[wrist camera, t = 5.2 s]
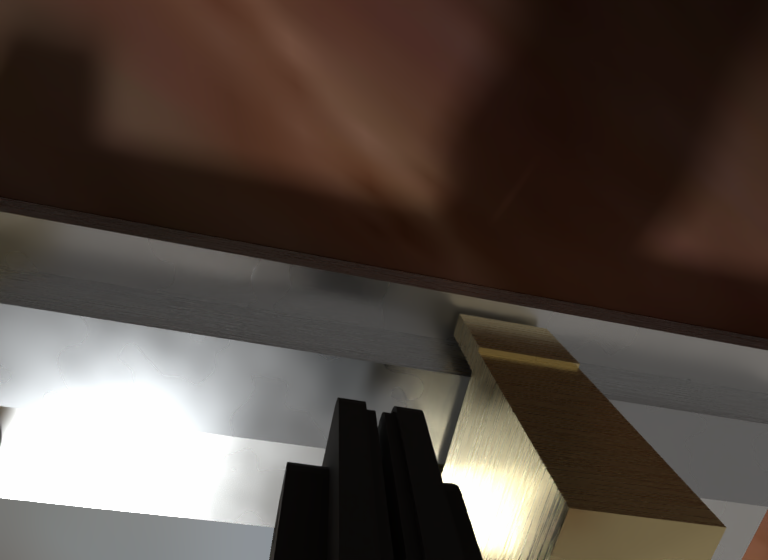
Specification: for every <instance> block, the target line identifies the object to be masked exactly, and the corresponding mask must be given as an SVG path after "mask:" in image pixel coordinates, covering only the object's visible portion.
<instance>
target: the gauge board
mask: <svg viewBox="0 0 768 560" xmlns="http://www.w3.org/2000/svg"><path fill="white" fill-rule="evenodd" d="M459 313H460V314H465V315H471V316H477V317H483V318H488V319H494V320H500V321H505V322H511V323H517V324H522V325H528V326H534V327H539V328H545V329H547V330H548V331H549V332H550V333H551V334H552V335H553V336H554V337H555V338H556V339H557V340H558V341H559V342H560V343H561V344H562V346H563V347H564V348H565V349H566V350H567V351H568V352H569V353H570V354H571V355H572V356H573V357H574V358H575V359H576V360H577V361H578V362H579V363H580V365H579V369H580V370H581V371H582V372H583V373H584V374H585V375H586V376H587V377H588V379H589V380H590V381H591V382H592V383H593V384H594V385H595V386H596V387H597V388H598V389H599V390H600V391H601V393H602V394H603V395H604V396H605V397H606V398H607V399H608V400H609V401H610V402H611V403H612V404H613V406H614V407H615V408H616V409H617V410H618V411H619V412H620V413H621V414H622V415H623V416H624V417H625V418H626V420H627V421H628V422H629V423H630V424H631V425H632V426H633V427H634V428H635V429H636V430H637V431H638V432H639V434H640V435H641V436H642V437H643V438H644V439H645V440H646V441H647V442H648V443H649V444H650V445H651V446H652V448H653V449H654V450H655V451H656V452H657V453H658V454H659V455H660V456H661V457H662V458H663V459H664V460H665V462H666V463H667V464H668V465H669V466H670V467H671V468H672V469H673V470H674V471H675V472H676V473H677V474H678V476H679V477H680V478H681V479H682V480H683V481H684V482H685V483H686V484H687V485H688V486H689V487H690V488H691V490H692V491H693V492H694V493H695V494H696V495H697V496H698V497H699V498H700V499H701V500H702V501H703V502H704V504H705V505H706V506H707V507H708V508H709V509H710V510H711V511H712V512H713V513H714V514H715V515H716V516H717V518H718V519H719V520H720V521H721V522H722V523H723V524H724V525H725V526H726V527H727V528H726V530H725V532H724V534H723V536H722V538H721V540H720V542H719V544H718V546H717V548H716V550H715V552H714V554H713V556H712V558H711V560H741V559H742V557H743V555H744V553H745V552H746V550H747V548H748V546H749V544H750V542H751V540H752V538H753V536H754V534H755V532H756V530H757V528H758V527H759V525H760V523H761V521H762V519H763V517H764V515H765V513H766V511H767V509H768V339H765V338H760V337H754V336H749V335H743V334H738V333H733V332H727V331H722V330H716V329H711V328H706V327H700V326H695V325H689V324H684V323H678V322H673V321H668V320H662V319H657V318H651V317H646V316H641V315H635V314H630V313H624V312H619V311H613V310H608V309H603V308H597V307H592V306H586V305H581V304H576V303H570V302H565V301H559V300H554V299H548V298H543V297H538V296H532V295H527V294H521V293H516V292H511V291H505V290H500V289H494V288H489V287H484V286H478V285H473V284H467V283H462V282H456V281H451V280H446V279H440V278H435V277H429V276H424V275H419V274H413V273H408V272H402V271H397V270H391V269H386V268H381V267H375V266H370V265H364V264H359V263H354V262H348V261H343V260H337V259H332V258H326V257H321V256H316V255H310V254H305V253H299V252H294V251H289V250H283V249H278V248H272V247H267V246H262V245H256V244H251V243H245V242H240V241H234V240H229V239H224V238H218V237H213V236H207V235H202V234H197V233H191V232H186V231H180V230H175V229H169V228H164V227H159V226H153V225H148V224H142V223H137V222H132V221H126V220H121V219H115V218H110V217H104V216H99V215H94V214H88V213H83V212H77V211H72V210H67V209H61V208H56V207H50V206H45V205H40V204H34V203H29V202H23V201H18V200H12V199H7V198H2V197H0V498H7V499H16V500H26V501H35V502H44V503H53V504H62V505H72V506H81V507H90V508H100V509H109V510H118V511H127V512H136V513H147V514H155V515H164V516H173V517H183V518H193V519H201V520H211V521H220V522H229V523H238V524H247V525H257V526H266V527H275V522H276V516H277V510H278V505H279V500H280V494H281V489H282V484H283V479H284V474H285V469H286V464H287V462H293V463H301V464H308V465H316V466H322V463H323V459H324V454H325V449H326V445H327V440H328V436H329V431H330V427H331V422H332V417H333V413H334V408H335V404H336V401H337V398H338V397H339V398H346V399H352V400H359V401H365V402H366V406H367V409H368V410H375V411H376V418H377V426H378V425H379V421H380V417H381V414H382V413H383V412H388V413H391V411H392V409H393V407H394V406H399V407H405V408H412V409H418V410H422V411H423V413H424V416H425V420H426V423H427V427H428V430H429V434H430V438H431V441H432V445H433V448H434V452H435V455H436V459H437V463H438V464H445V462H446V459H447V456H448V452H449V449H450V445H451V442H452V439H453V435H454V432H455V428H456V425H457V422H458V418H459V415H460V411H461V408H462V405H463V401H464V398H465V394H466V391H467V388H468V384H469V381H470V377H471V374H472V370H471V368H470V366H469V364H468V362H467V360H466V358H465V356H464V354H463V352H462V350H461V348H460V346H459V345H458V343H457V341H456V339H455V337H454V331H455V327H456V324H457V320H458V316H459Z"/></svg>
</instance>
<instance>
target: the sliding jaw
mask: <svg viewBox="0 0 768 560" xmlns="http://www.w3.org/2000/svg"><path fill="white" fill-rule="evenodd" d="M454 337H455V339H456V341H457V343H458V345H459V346H460V348H461V350H462V352H463V354H464V356H465V358H466V360H467V362H468V364H469V366H470V368H471V370H472V374H471V377H470V381H469V384H468V388H467V391H466V394H465V398H464V401H463V405H462V408H461V411H460V415H459V418H458V422H457V425H456V428H455V432H454V435H453V439H452V442H451V445H450V449H449V452H448V456H447V459H446V462H445V464H438V466H439V470H440V473H441V477H442V480H443V482H445V483H453V484H456V485H457V486H459V488H460V490H461V493H462V496H463V499H464V502H465V505H466V508H467V511H468V515H469V518H470V521H471V524H472V527H473V530H474V533H475V536H476V540H477V543H478V546H479V549H480V552H481V555H482V558H483V560H711V558H712V556H713V554H714V552H715V550H716V548H717V546H718V544H719V542H720V540H721V538H722V536H723V534H724V532H725V530H726V528H727V527H726V526H725V525H724V524H723V523H722V522H721V521H720V520H719V519H718V518H717V516H716V515H715V514H714V513H713V512H712V511H711V510H710V509H709V508H708V507H707V506H706V505H705V504H704V502H703V501H702V500H701V499H700V498H699V497H698V496H697V495H696V494H695V493H694V492H693V491H692V490H691V488H690V487H689V486H688V485H687V484H686V483H685V482H684V481H683V480H682V479H681V478H680V477H679V476H678V474H677V473H676V472H675V471H674V470H673V469H672V468H671V467H670V466H669V465H668V464H667V463H666V462H665V460H664V459H663V458H662V457H661V456H660V455H659V454H658V453H657V452H656V451H655V450H654V449H653V448H652V446H651V445H650V444H649V443H648V442H647V441H646V440H645V439H644V438H643V437H642V436H641V435H640V434H639V432H638V431H637V430H636V429H635V428H634V427H633V426H632V425H631V424H630V423H629V422H628V421H627V420H626V418H625V417H624V416H623V415H622V414H621V413H620V412H619V411H618V410H617V409H616V408H615V407H614V406H613V404H612V403H611V402H610V401H609V400H608V399H607V398H606V397H605V396H604V395H603V394H602V393H601V391H600V390H599V389H598V388H597V387H596V386H595V385H594V384H593V383H592V382H591V381H590V380H589V379H588V377H587V376H586V375H585V374H584V373H583V372H582V371H581V370H580V369H579V365H580V363H579V362H578V361H577V360H576V359H575V358H574V357H573V356H572V355H571V354H570V353H569V352H568V351H567V350H566V349H565V348H564V347H563V346H562V344H561V343H560V342H559V341H558V340H557V339H556V338H555V337H554V336H553V335H552V334H551V333H550V332H549V331H548V330H547V329H545V328H539V327H534V326H528V325H522V324H517V323H511V322H505V321H500V320H494V319H488V318H483V317H477V316H471V315H465V314H460V313H459V316H458V320H457V324H456V327H455V331H454Z"/></svg>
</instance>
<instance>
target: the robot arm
mask: <svg viewBox="0 0 768 560" xmlns="http://www.w3.org/2000/svg"><path fill="white" fill-rule="evenodd" d="M269 560H483V558H482V555H481V552H480V549H479V546H478V543H477V540H476V536H475V533H474V530H473V527H472V524H471V521H470V518H469V515H468V511H467V508H466V505H465V502H464V499H463V496H462V493H461V490H460V488H459V486H457V485H456V484H453V483H445V482H443V480H442V477H441V473H440V470H439V466H438V463H437V459H436V455H435V452H434V448H433V445H432V441H431V438H430V434H429V430H428V427H427V423H426V420H425V416H424V413H423V411H422V410H418V409H412V408H405V407H399V406H394V407H393V409H392V411H391V413H388V412H383V413H382V414H381V417H380V421H379V425H378V426H377V418H376V411H375V410H368V409H367V406H366V402H365V401H359V400H352V399H346V398H339V397H338V398H337V401H336V404H335V408H334V413H333V417H332V422H331V427H330V431H329V436H328V440H327V445H326V449H325V454H324V459H323V463H322V466H316V465H308V464H301V463H293V462H287V464H286V469H285V474H284V479H283V484H282V489H281V494H280V500H279V505H278V510H277V516H276V522H275V528H274V533H273V540H272V546H271V552H270V559H269Z"/></svg>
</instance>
